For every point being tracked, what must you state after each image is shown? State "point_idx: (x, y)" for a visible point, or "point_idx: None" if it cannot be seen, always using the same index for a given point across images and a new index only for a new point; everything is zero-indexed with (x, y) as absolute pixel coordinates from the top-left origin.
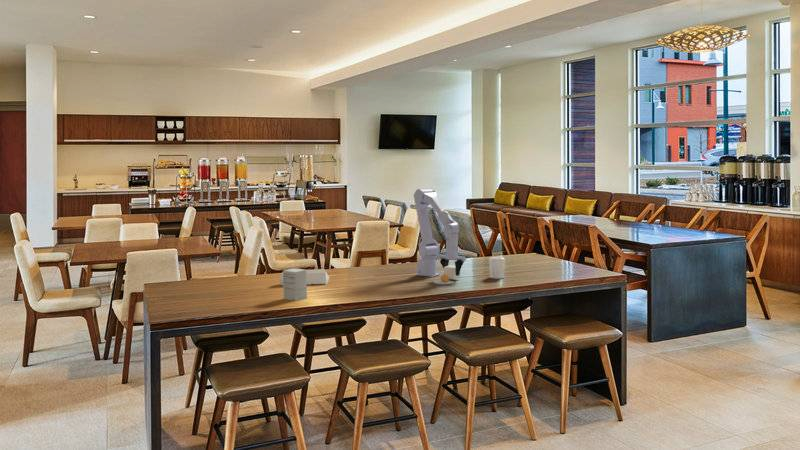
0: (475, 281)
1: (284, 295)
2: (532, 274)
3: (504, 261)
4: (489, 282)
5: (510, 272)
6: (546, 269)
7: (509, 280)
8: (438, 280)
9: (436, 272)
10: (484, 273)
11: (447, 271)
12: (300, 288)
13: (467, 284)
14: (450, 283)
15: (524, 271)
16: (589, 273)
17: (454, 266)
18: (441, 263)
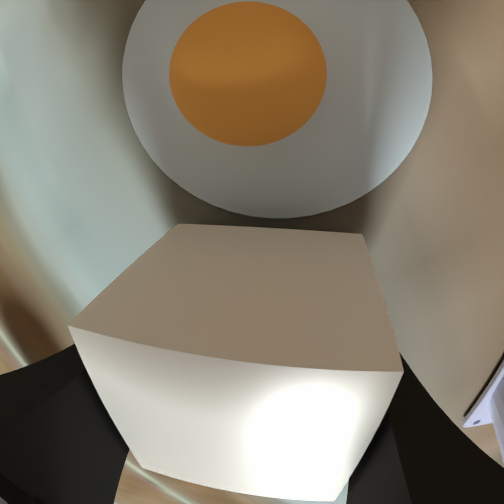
0: (57, 299)
1: None
2: None
3: None
4: (3, 297)
5: (146, 488)
6: (116, 497)
7: (14, 369)
8: (406, 137)
9: (493, 415)
10: (210, 487)
11: (278, 293)
12: None
13: (14, 142)
14: (129, 34)
15: (130, 491)
16: None
17: (180, 451)
18: (488, 468)
